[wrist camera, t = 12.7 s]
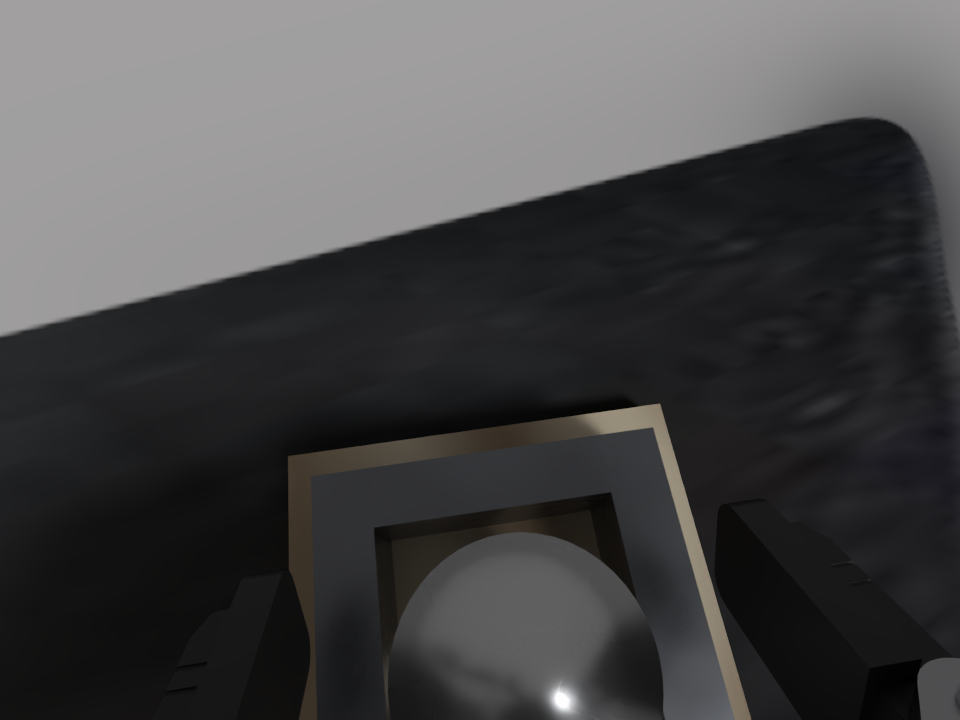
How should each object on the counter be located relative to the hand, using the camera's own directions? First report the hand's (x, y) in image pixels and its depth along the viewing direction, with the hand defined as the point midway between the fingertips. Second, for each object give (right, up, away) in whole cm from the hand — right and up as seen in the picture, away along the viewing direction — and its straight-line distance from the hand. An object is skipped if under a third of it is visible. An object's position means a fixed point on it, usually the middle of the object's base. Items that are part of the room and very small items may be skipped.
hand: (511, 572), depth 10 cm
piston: (0, -4, +5) cm, 6 cm away
